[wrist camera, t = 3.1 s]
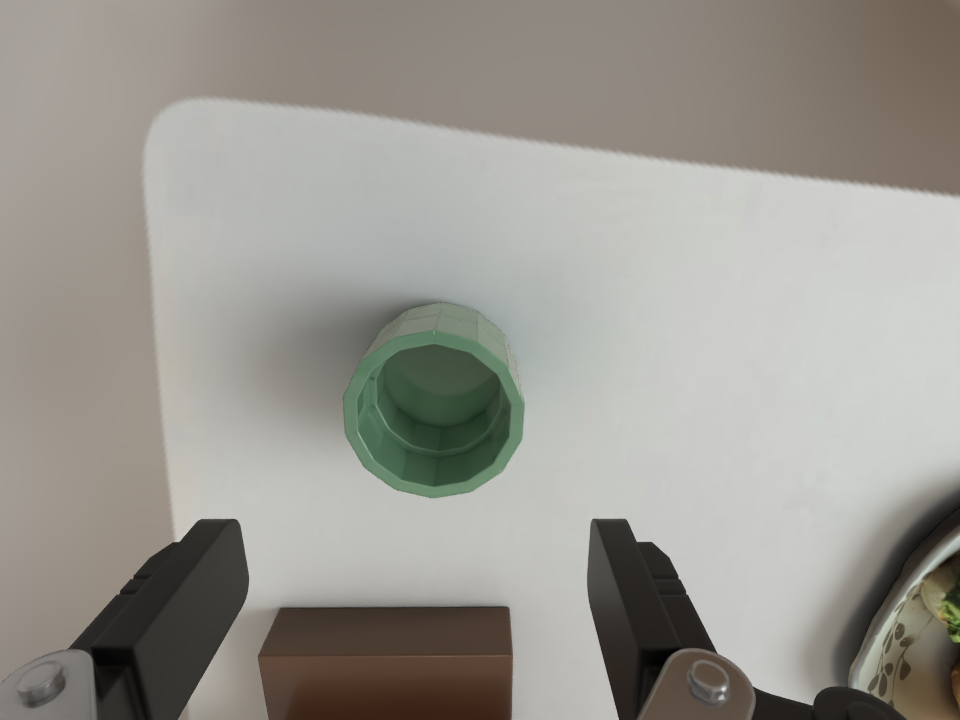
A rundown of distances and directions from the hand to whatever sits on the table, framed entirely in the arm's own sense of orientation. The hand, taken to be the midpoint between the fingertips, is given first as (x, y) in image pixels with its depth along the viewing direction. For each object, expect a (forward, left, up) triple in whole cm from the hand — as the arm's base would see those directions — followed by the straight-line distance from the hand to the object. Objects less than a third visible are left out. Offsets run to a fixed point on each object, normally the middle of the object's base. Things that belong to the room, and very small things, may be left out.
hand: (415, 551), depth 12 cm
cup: (0, 0, -12) cm, 12 cm away
